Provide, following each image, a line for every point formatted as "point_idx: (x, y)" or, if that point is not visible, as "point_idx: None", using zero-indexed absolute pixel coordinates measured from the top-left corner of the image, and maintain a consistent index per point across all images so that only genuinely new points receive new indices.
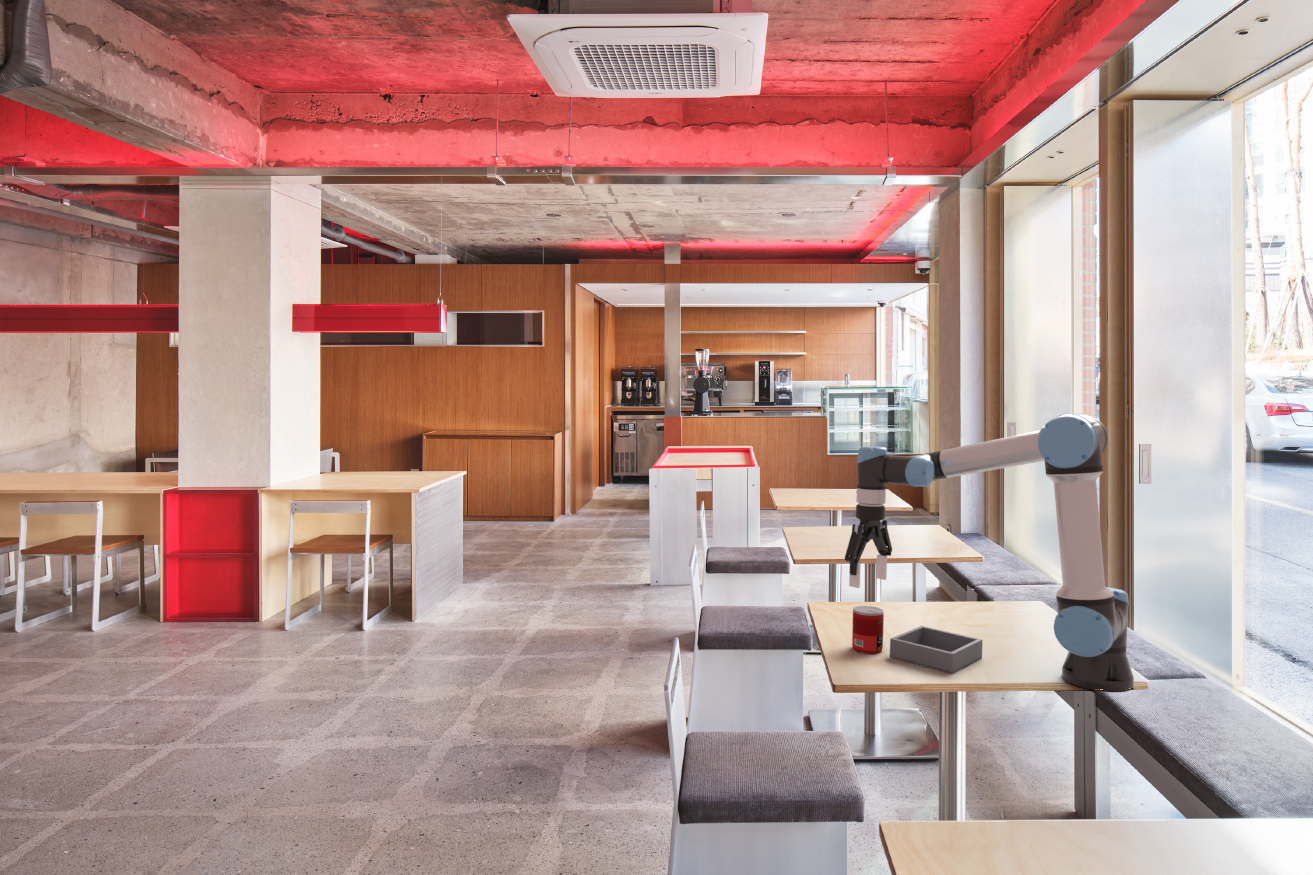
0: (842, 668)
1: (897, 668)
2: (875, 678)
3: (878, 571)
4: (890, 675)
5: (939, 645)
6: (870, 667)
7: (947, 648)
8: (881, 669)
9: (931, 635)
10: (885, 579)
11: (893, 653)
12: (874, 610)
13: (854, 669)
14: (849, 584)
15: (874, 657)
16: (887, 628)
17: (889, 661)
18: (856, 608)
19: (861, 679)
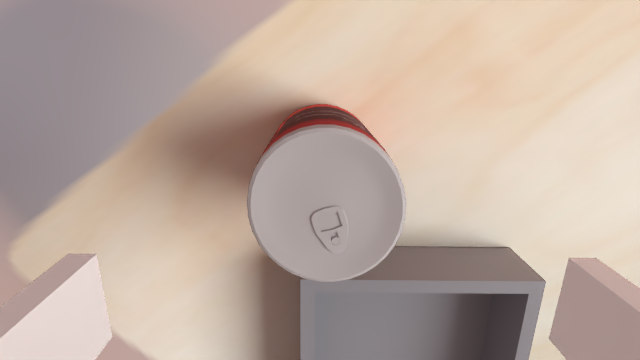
0: (92, 198)
1: (229, 303)
2: (107, 302)
3: (617, 327)
4: (162, 316)
5: (492, 315)
6: (173, 250)
7: (486, 335)
8: (185, 279)
9: (509, 308)
10: (559, 340)
11: None
12: (359, 225)
13: (117, 227)
14: (57, 264)
15: None
16: (628, 74)
17: (267, 261)
18: (309, 145)
19: None
